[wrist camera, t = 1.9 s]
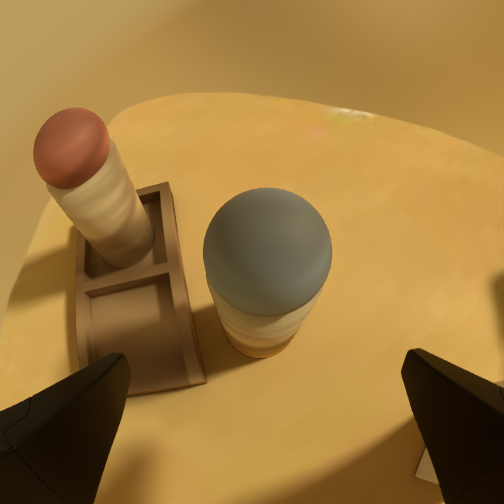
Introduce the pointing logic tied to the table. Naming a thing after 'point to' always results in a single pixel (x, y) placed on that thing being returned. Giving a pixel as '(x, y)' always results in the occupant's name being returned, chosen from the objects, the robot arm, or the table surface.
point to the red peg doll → (93, 186)
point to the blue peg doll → (265, 267)
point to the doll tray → (140, 307)
